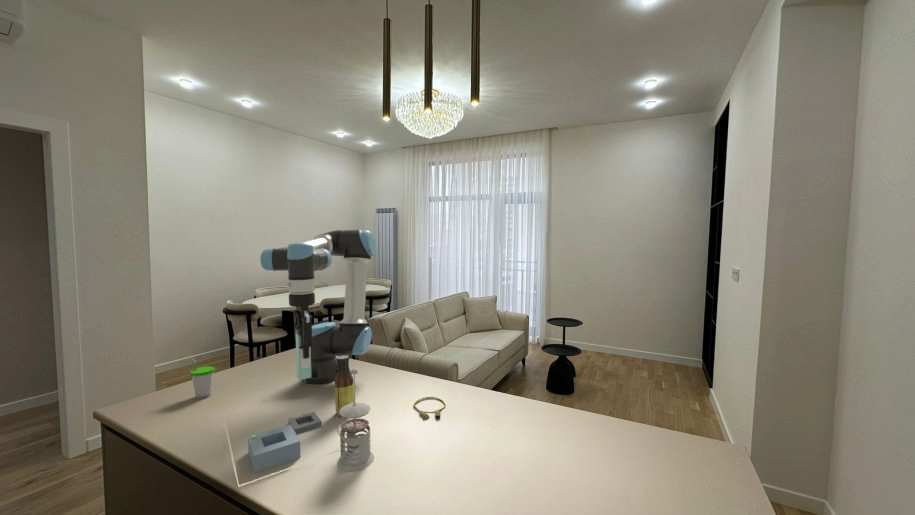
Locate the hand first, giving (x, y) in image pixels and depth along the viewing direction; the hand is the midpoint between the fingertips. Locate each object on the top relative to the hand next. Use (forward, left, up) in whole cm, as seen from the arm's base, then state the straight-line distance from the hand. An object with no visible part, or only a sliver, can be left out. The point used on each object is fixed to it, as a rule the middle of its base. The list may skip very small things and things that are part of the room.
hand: (303, 365), depth 114 cm
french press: (-6, +26, -20) cm, 33 cm away
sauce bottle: (-13, 0, -20) cm, 24 cm away
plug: (0, 0, -4) cm, 4 cm away
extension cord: (-38, +14, -20) cm, 45 cm away
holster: (0, 0, -20) cm, 20 cm away
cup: (+25, -47, -20) cm, 57 cm away
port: (+11, +12, -20) cm, 26 cm away
